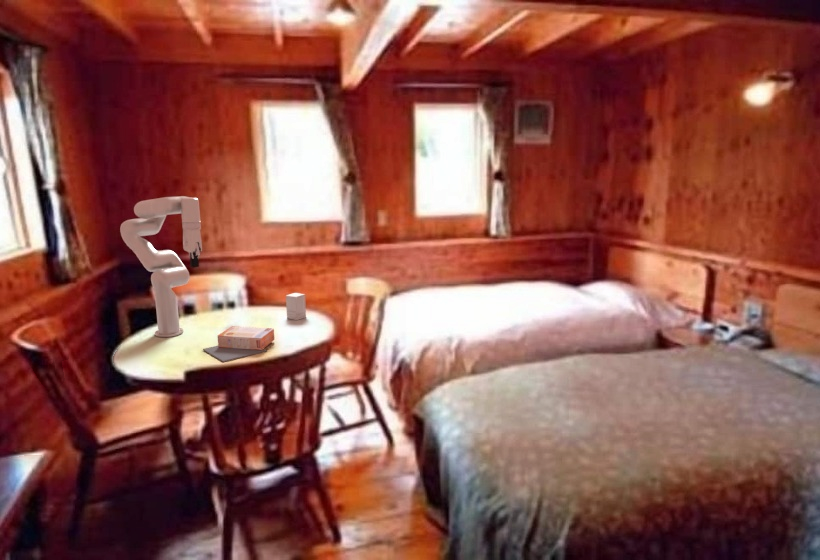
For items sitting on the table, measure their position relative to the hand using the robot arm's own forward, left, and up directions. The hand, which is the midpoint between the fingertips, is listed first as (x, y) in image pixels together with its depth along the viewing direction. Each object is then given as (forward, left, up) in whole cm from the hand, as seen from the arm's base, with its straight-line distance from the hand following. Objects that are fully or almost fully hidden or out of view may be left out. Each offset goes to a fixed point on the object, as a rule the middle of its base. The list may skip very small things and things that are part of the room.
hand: (194, 266), depth 250 cm
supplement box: (-5, +54, -35) cm, 65 cm away
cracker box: (+10, +7, -32) cm, 34 cm away
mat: (+22, +6, -35) cm, 42 cm away
